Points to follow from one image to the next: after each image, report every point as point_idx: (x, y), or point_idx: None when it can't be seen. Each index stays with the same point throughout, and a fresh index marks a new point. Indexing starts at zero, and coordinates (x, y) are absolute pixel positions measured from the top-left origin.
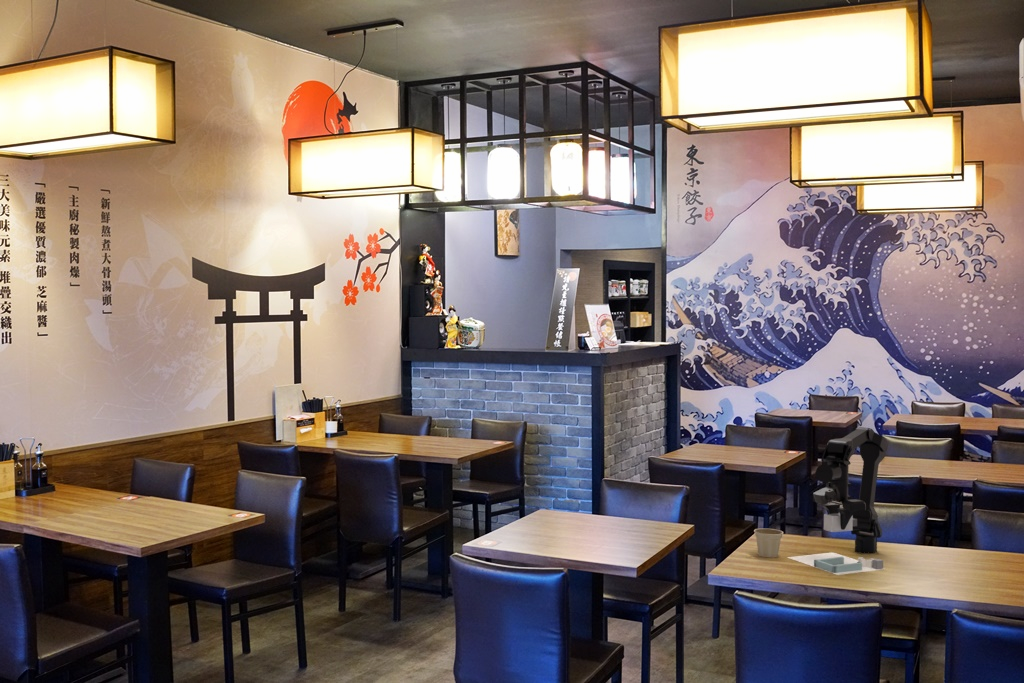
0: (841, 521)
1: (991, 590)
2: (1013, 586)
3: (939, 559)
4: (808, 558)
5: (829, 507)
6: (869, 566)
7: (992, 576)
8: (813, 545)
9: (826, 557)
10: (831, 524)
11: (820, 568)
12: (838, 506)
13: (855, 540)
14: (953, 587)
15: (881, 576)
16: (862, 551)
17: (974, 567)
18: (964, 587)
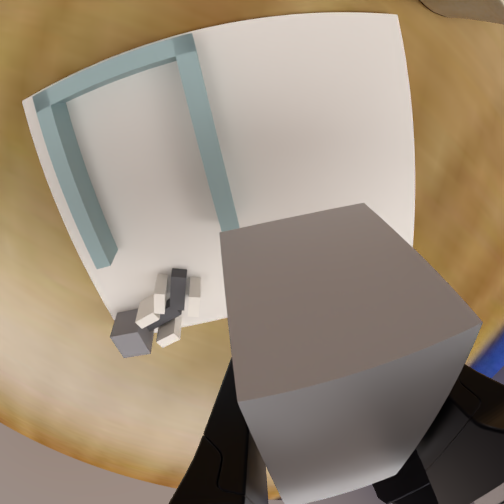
0: (228, 413)
1: (13, 416)
2: (54, 449)
3: None
4: (359, 99)
5: (497, 456)
6: (145, 301)
7: (117, 462)
8: (499, 255)
9: (354, 199)
10: (241, 283)
11: None
12: (445, 500)
13: None
14: (5, 382)
15: (57, 288)
16: None
17: (186, 469)
18: (14, 397)
